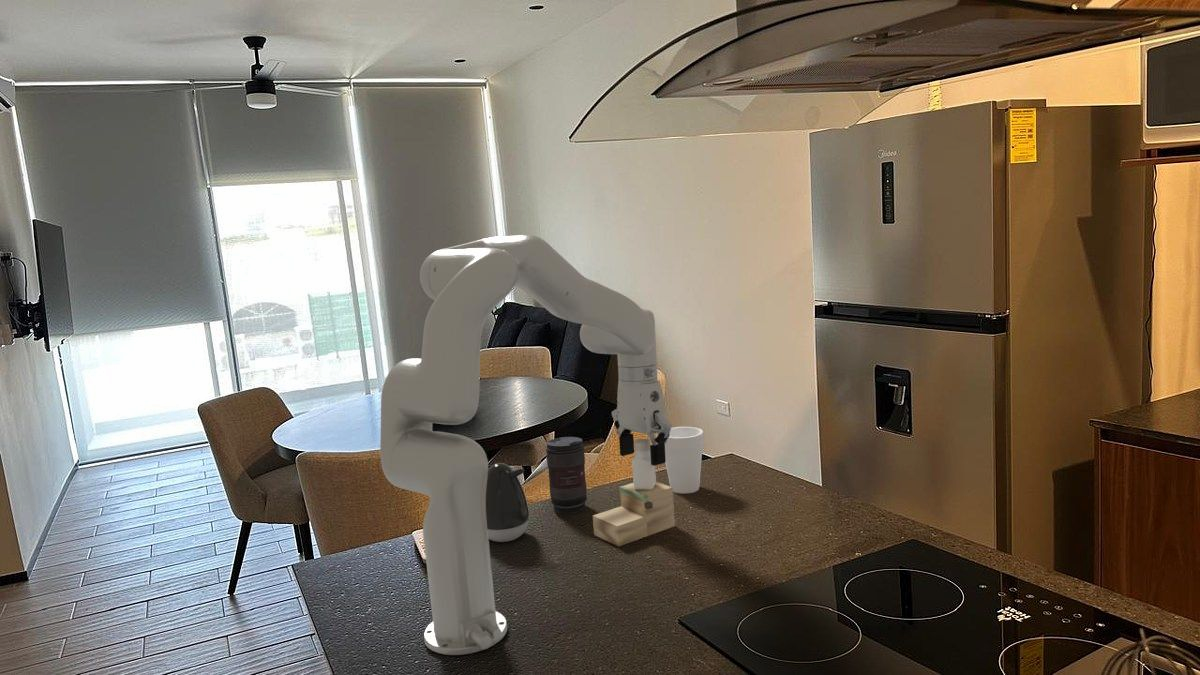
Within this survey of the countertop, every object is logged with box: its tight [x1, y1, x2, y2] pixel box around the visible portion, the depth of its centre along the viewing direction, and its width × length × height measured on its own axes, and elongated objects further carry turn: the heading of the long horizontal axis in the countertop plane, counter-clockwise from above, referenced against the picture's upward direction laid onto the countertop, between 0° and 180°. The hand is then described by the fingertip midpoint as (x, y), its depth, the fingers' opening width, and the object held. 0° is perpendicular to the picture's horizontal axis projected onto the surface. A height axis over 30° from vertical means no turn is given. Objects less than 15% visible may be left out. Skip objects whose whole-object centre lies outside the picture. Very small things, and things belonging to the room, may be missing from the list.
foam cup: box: [665, 426, 705, 494], centre depth 185 cm, size 10×9×13 cm
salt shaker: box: [631, 438, 657, 490], centre depth 164 cm, size 4×4×10 cm
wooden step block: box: [592, 481, 676, 547], centre depth 163 cm, size 9×14×8 cm, turn 126°
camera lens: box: [545, 436, 588, 515], centre depth 178 cm, size 8×8×15 cm
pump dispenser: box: [486, 462, 531, 543], centre depth 165 cm, size 10×10×15 cm
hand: (642, 459), depth 164 cm, fingers open, 9 cm apart
